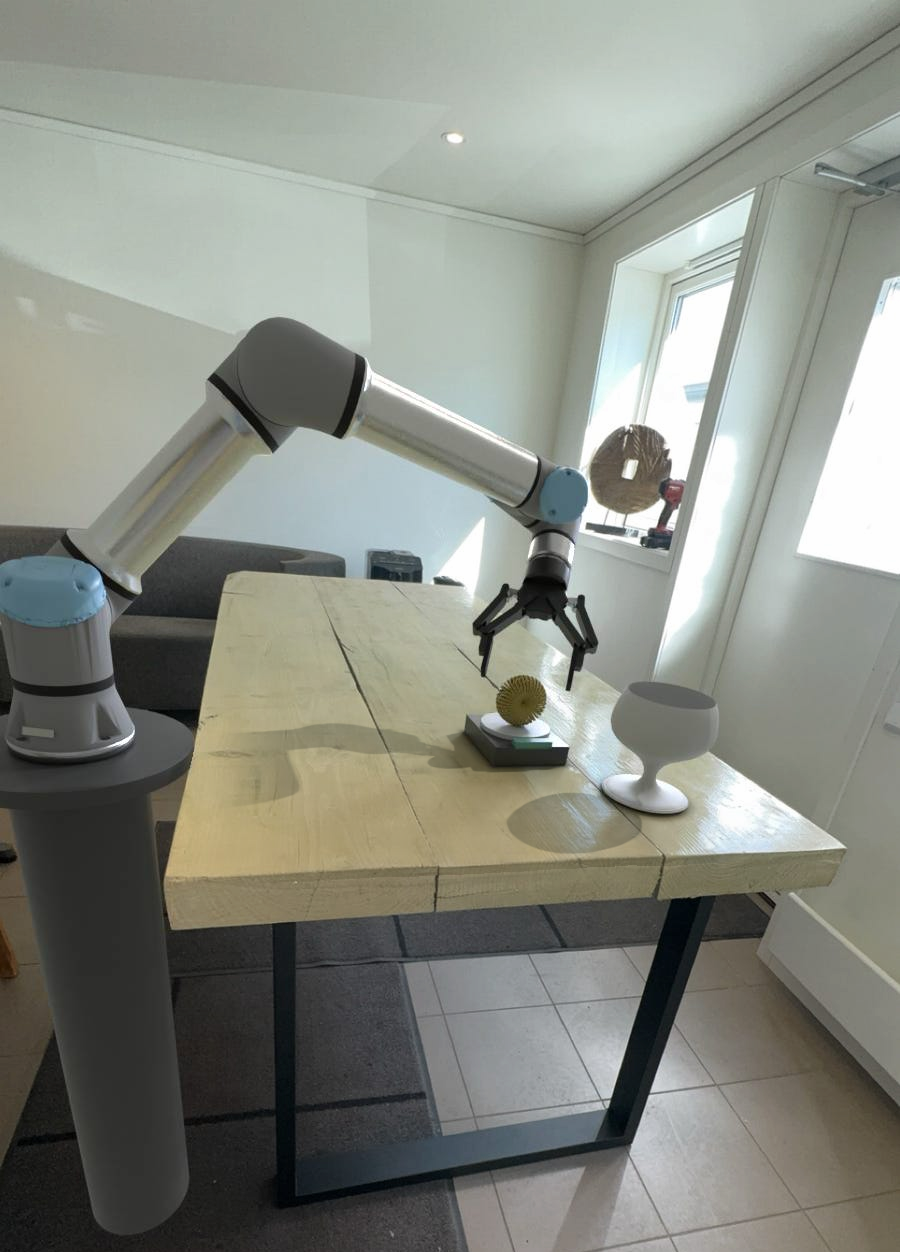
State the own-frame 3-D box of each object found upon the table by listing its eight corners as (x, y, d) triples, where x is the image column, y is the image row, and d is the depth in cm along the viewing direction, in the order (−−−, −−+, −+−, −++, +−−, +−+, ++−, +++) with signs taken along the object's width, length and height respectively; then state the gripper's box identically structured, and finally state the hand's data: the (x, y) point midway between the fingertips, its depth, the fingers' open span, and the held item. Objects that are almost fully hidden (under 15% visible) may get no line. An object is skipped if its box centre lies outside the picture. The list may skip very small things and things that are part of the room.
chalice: (715, 808, 93) (748, 707, 86) (649, 827, 85) (680, 717, 78) (639, 769, 103) (664, 675, 96) (574, 783, 95) (596, 682, 88)
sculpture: (496, 728, 101) (504, 678, 97) (489, 719, 104) (496, 670, 100) (545, 730, 102) (554, 680, 99) (536, 721, 106) (545, 672, 102)
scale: (463, 731, 109) (466, 709, 107) (530, 731, 113) (533, 710, 111) (493, 766, 97) (497, 742, 95) (566, 764, 101) (570, 741, 99)
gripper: (619, 594, 112) (601, 704, 105) (475, 573, 115) (449, 679, 108) (627, 565, 105) (609, 680, 98) (474, 543, 108) (446, 654, 101)
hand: (525, 680), depth 103 cm, fingers open, 13 cm apart
